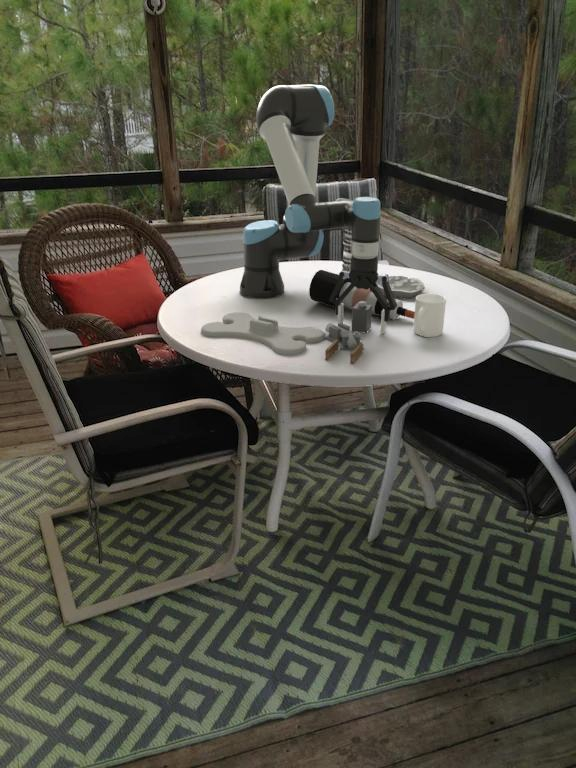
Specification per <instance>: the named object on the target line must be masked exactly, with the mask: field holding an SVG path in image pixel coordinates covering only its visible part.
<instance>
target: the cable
mask: <svg viewBox="0 0 576 768" xmlns="http://www.w3.org/2000/svg"><path fill="white" fill-rule="evenodd" d="M338 280H339V273H338V274H337V273H334V272H331V271H328V270H323V269H320V270H318V271H316V272H315V273H314V275H313V277H312V279H311V280H310V284H309V288H308V289H309V291H308V292H309V293H308V295H309V297H310V299H311V300H312V301H314V302H317V303H320V304H322V305H326V306H329V307H332V308H335V304H334V303H332V302H329V299H330V296H331V294H332V292H333V290H334V288H335V286H336V284H337V282H338ZM351 283H352V281H351V279H350V278H349V277H347V278H346V279H345V280H344V283H343V285H342V287H341V289H340V291H339V293H338V295H337V297H336V298H337V299H338V298H339V297H340V296H341V295H342V293H343V292H344V291H345V290H346V289H347V288H348V286H349V285H350V284H351ZM384 297H385V298H386V300H387V297H386V296H385V295H384ZM360 301H365V302H367V305H372V315H374V316H380V317H381V314H382V310H383V307H382V306H381V304H380V303H379V301H378V300H377V298H376V297H375V295H374V294H373V292H371V291H370V289H368V290H366V289H363V288H361V289H358V288H356V287H354V288H353V289H352V290H351V291H350V292H349V294H348V295H347V296H346V297H345V298H344V299H343V300H342V302H341V303H344V308H351V309H352V308H353V307H354V306H355V305H356V304H357V303H358V302H360ZM387 301H388V300H387ZM395 301H396V303H397V307H396V308H395V309H394V310H390V319H391V320H393V321H396V320H398V319H399V318H400V316H401V317H406V318H408V319H412V320H414V316H415V310H409V309H407V308H405V307H404V302H403V301H402V300H401V299H400V300H399V299H398V298H395ZM388 303H389V302H388ZM398 317H399V318H398ZM397 318H398V319H397ZM390 319H389V320H390ZM395 319H396V320H395Z"/></svg>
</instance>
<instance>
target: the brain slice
mask: <svg viewBox="0 0 576 768" xmlns="http://www.w3.org/2000/svg"><path fill="white" fill-rule="evenodd" d="M388 276H389V275H388ZM376 284H377V285H378V288H379V289H380V291H381V292H382V294H383V295H385V296H386V294H385V292H384V289H383V286H382V283H380V280H377V281H376ZM389 285H390V287H391V290H392V293H393V295H394V298H395V297H397V298H396V299H402V298H405V299H404V300H406V299H407V300H409V299H412V298H413V297H417V296H418V295H421V293H422V291H423V290H425V289H426V287H425V284H424V282H422V280H421V279H418V278H414V277H411V278H410V277H409V278H408V277H407V276H403V275H396V276H395V275H390V276H389Z"/></svg>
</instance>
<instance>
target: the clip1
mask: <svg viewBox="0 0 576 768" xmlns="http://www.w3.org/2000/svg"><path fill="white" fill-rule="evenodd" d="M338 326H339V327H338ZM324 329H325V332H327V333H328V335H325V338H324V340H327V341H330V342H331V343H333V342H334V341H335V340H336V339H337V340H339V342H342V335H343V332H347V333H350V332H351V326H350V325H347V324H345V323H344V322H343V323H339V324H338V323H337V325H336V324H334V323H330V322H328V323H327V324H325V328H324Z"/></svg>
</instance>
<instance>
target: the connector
mask: <svg viewBox="0 0 576 768" xmlns="http://www.w3.org/2000/svg"><path fill="white" fill-rule="evenodd" d="M351 312H352V313H351V332H355V331H358V332H359V333H362V332H365V333H364V334H367V333H368V332H369V331H370V330H371V329H372V318H373V317H372V315H373V314H372V305H367V302H365V301H360V302H358V303H357V304H356V305H355V306H354V307H353V308H351ZM370 328H371V329H370ZM369 329H370V330H369ZM368 330H369V331H368ZM367 331H368V332H367Z"/></svg>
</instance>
